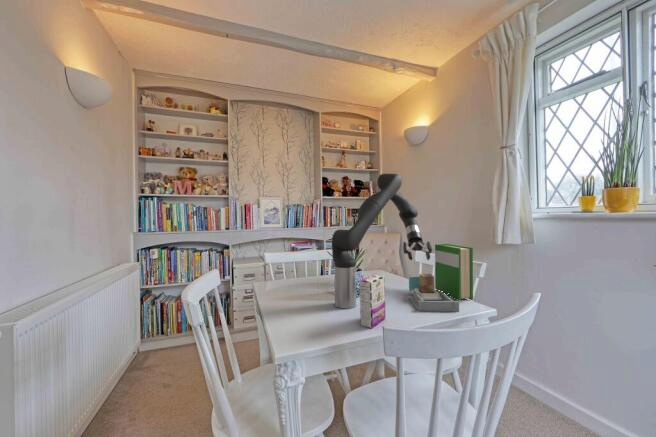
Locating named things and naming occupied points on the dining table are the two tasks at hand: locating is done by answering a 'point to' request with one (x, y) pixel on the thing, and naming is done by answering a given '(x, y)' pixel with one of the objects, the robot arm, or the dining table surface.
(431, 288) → the walnut block
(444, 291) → the hardback book
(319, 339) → the dining table surface
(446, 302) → the dock
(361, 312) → the candy bar box
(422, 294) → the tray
